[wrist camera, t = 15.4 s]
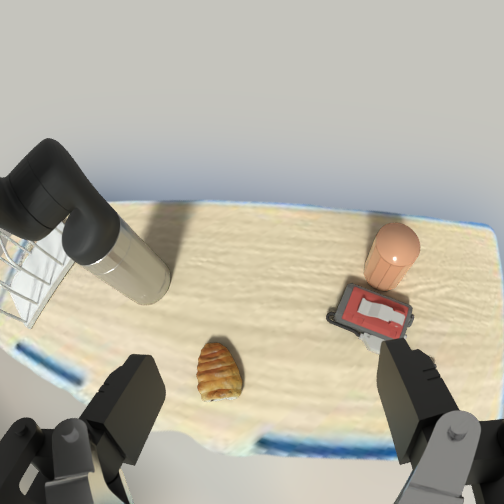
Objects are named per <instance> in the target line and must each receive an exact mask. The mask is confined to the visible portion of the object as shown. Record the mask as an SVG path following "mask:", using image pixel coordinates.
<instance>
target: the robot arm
mask: <svg viewBox="0 0 504 504" xmlns="http://www.w3.org/2000/svg"><path fill="white" fill-rule="evenodd" d="M69 214H70V215H69ZM68 215H69V217H68V219H67V221H66V223H65V226H64V229H63V233H62V246H63V249H64V251H65V253H66V254H67V256H68V257H70V258H71V259H72V260H73V261H75V262H76V263H78V264H79V265H80V266H82V267H83V268H85V269H86V270H87V271H89V272H91V273H92V274H93V275H95V276H96V277H98V278H99V279H101V280H102V281H104V282H105V283H107V284H108V285H110V286H111V287H113V288H114V289H116V290H117V291H119V292H120V293H122V294H123V295H125V296H126V297H128V298H129V299H131V300H133V301H134V302H136V303H137V304H140V305H151V304H153V303H155V302H157V301H159V300H160V299H161V298H162V297H163V296H164V295H165V293H166V292H167V290H168V287H169V284H170V271H169V269H168V267H167V265H166V264H165V263H164V262H163V261H162V260H161V259H160V258H159V257H158V256H157V255H156V254H155V253H154V252H153V251H152V250H151V249H150V248H149V247H148V246H147V244H146V243H145V242H144V241H143V240H142V239H141V238H140V237H139V236H138V235H137V234H136V233H135V232H134V231H133V230H132V229H131V228H130V226H129V225H128V224H127V223H126V222H125V221H124V220H123V219H122V218H121V217H120V216H119V215H118V214H117V212H116V211H115V210H114V209H113V208H112V207H111V206H110V205H109V204H108V203H107V202H106V200H105V199H104V198H103V197H102V196H101V195H100V194H99V193H98V191H97V190H96V189H95V188H94V187H93V186H92V184H91V183H90V182H89V180H88V179H87V177H86V176H85V175H84V173H83V172H82V170H81V169H80V168H79V166H78V165H77V163H76V162H75V161H74V159H73V158H72V157H71V155H70V154H69V153H68V151H66V149H65V148H64V147H63V146H62V145H61V144H60V143H59V142H57V141H56V140H53V139H50V138H47V139H44V140H43V141H41V142H40V143H39V144H38V145H37V146H36V147H34V148H33V150H31V151H30V152H29V153H28V155H26V156H25V157H24V159H22V160H21V162H20V163H19V164H18V165H17V166H16V167H15V168H14V169H13V170H12V171H11V173H10V174H9V175H8V176H6V177H3V178H1V177H0V228H2V229H4V230H6V231H8V232H9V233H11V234H13V235H15V236H17V237H20V238H22V239H25V240H28V241H39V240H41V239H43V238H45V237H46V236H47V235H49V234H50V233H51V232H52V231H53V230H54V229H55V228H56V227H57V226H58V225H59V224H60V223H61V222H62V221H63V220H64V219H65V218H66V217H67V216H68ZM435 368H436V367H435V366H434V364H433V362H432V360H431V359H430V357H429V356H427V355H426V354H425V353H423V352H422V351H420V350H419V349H417V350H412V351H411V349H410V347H409V345H408V343H407V342H406V340H405V339H404V338H397V339H391V340H386V341H382V343H381V346H380V355H379V363H378V370H377V388H378V392H379V395H380V399H381V402H382V405H383V408H384V411H385V415H386V418H387V421H388V424H389V428H390V431H391V435H392V438H393V442H394V445H395V449H396V452H397V456H398V460H399V464H400V465H401V464H405V463H409V462H411V465H412V469H413V470H412V472H411V474H410V476H409V478H408V480H407V481H406V483H405V485H404V487H403V489H402V490H401V492H400V494H399V496H398V497H397V499H396V501H395V502H394V504H463V502H464V497H462V491H463V488H464V486H465V485H471V486H472V489H473V493H474V496H475V501H476V504H504V419H499V420H490V421H478V420H477V418H476V417H475V416H474V415H472V414H471V413H468V412H466V411H460V410H459V408H458V406H457V405H456V403H455V401H454V399H453V397H452V395H451V393H450V392H449V390H448V388H447V386H446V385H445V383H444V381H443V379H442V378H440V374H439V372H438V371H437V369H435ZM98 391H99V392H97V393H96V394H95V396H94V397H93V399H92V400H91V402H90V403H89V404H88V406H87V407H86V409H85V410H84V412H83V413H82V415H81V416H80V417H79V419H77V418H70V419H66V420H64V421H62V422H61V423H59V424H58V425H57V426H56V427H55V429H40V428H39V426H38V425H37V424H36V422H35V421H34V420H33V419H31V418H21V419H19V420H17V421H16V422H14V423H13V424H12V426H11V427H10V428H9V430H8V431H7V433H6V434H5V435H4V437H3V438H2V439H1V441H0V504H134V502H133V499H132V497H131V494H130V491H129V488H128V486H127V483H126V480H125V477H124V474H123V472H122V470H121V468H120V467H121V465H122V463H126V464H130V465H134V466H135V464H136V462H137V460H138V457H139V455H140V453H141V451H142V449H143V447H144V444H145V442H146V440H147V438H148V435H149V433H150V431H151V429H152V427H153V425H154V422H155V420H156V418H157V416H158V414H159V411H160V409H161V407H162V405H163V403H164V400H165V396H166V390H165V385H164V383H163V380H162V378H161V376H160V373H159V371H158V368H157V366H156V363H155V361H154V358H153V357H152V356H151V355H140V354H131V355H130V356H129V357H128V359H127V360H126V361H125V363H124V364H123V366H120V367H119V368H117V369H116V370H115V371H113V372H112V373H111V374H110V375H109V376H108V378H107V379H106V380H105V382H104V385H102V386H101V387H100V389H99V390H98ZM30 463H32V464H33V466H34V467H35V468H36V469H37V470H38V471H39V472H38V474H37V476H36V477H35V479H34V481H33V483H32V485H31V486H30V488H29V490H28V492H27V494H26V495H23V494H22V492H21V491H20V488H19V482H20V480H21V478H22V477H23V475H24V473H25V472H26V470H27V468H28V467H29V465H30Z"/></svg>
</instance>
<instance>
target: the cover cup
mask: <svg viewBox="0 0 504 504" xmlns="http://www.w3.org/2000/svg"><path fill="white" fill-rule="evenodd" d="M419 253H420V242H419V239H418V237H417V235H416V234H415V232H414V231H413V230H412V229H411V228H409V227H408V226H406V225H404V224H401V223H389V224H386V225H385V226H383V227H382V228H381V229H380V230H379V232H378V234H377V235H376V237H375V240H374V242H373V245H372V248H371V250H370V253H369V255H368V258H367V260H366V263H365V267H364V275H365V278H366V280H367V283H368V284H369V285H371V286H372V287H373V288H374V289H376V290H381V291H388V290H391V289H393V288H395V287H396V286H397V285H398V283H399V282H400V281H401V279H402V278H403V277H404V275H405V274H406V273H407V271H408V270H409V269H410V267H411V266H412V264H413V263H414V262H415V260H416V259H417V257H418V255H419Z"/></svg>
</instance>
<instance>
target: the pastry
mask: <svg viewBox="0 0 504 504" xmlns="http://www.w3.org/2000/svg"><path fill="white" fill-rule="evenodd" d="M198 361H199V362H198V366H197V370H198V372H197V374H196V375H197V379H198V383H199V384H198V386H197V388H198V391H199V392H200V394H201V399H202V400H203V401H205V402H211V401H219V400H224V399H228V400H233V399H237V398H238V397H239V396H240V394H241V388H242V379H241V376H240V373H239V370H238V367H237V365H236V363H235V362H234V360H233V358H232V356H231V354H230V352H229V351H228V349H227V348H226V347H225V346H223V345H222V344H220V343H207V344H206V345H205V346H204V347H203V349H202V350H201V354H200V356H199V358H198Z"/></svg>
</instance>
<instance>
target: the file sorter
mask: <svg viewBox="0 0 504 504" xmlns="http://www.w3.org/2000/svg"><path fill="white" fill-rule="evenodd" d="M64 226H65V224H64V223H63V222H61V223H60V224H59V225H58V226H57V227H56V228H55V229H54V230H53V231H52V232H51V233H50V234H49V235H47V236H46V237H45V238H43V239H41V240H39V241H38V242H37V243H34V242H33V241H29V242H30V243H31V244H32V245H34V247H33V249H32V250H31V252H29V251H28V250H26V249H25V248H23V247H22V246H20V245H19V244H18V243H16V242H15V241H13V240H12V239H11V238H9V237H8V236H7V235H5V234H3V233H2V232H1V231H0V234H1V235H3V236H4V237H5V238H7V239H8V240H9V241H11V242H12V243H14V244H15V245H17V246H18V247H19V248H21V249H22V250H24V251H25V252H27V253H28V254H29V255H28V256H27V258H26V259H25V261H24V262H23V264H22V266H19V265H18V264H16V263H15V262H14V261H13V260H12V259H11V258H10V257H9V255H8V253H7V251H6V249H5V246H4V244H3V242H2V239H1V237H0V243H1V246H2V248H3V251H4V253H5V255H6V257H7V259H8V260H9V261H10V262H11V263H12V264H13V265H12V264H11V263H9V262H8V261H6V260H5V259H3V258H2V257H0V260H2V261H3V262H5V263H7V264H8V265H10V266H11V267H13V268H15V269H16V270H18V272H17V274H16V275H15V277H14V278H13V280H12V282H11V284H10V285H8V284H6V283H4V282H2V281H0V286H1V287H2V288H4V289H6V290H7V291H9V292H10V294H11V297H12V299H13V301H14V304H15V306H16V308H17V310H18V312H19V314H20V316H21V318H22V319H21V318H19V317H16V316H14V315H12V314H9V313H7V312H5V311H3V310H1V309H0V313H3V314H5V315H7V316H9V317H12V318H14V319H16V320H19V321H21V322H23V323H24V325H25V327H26V328H29V329H31V328H32V326H33V325H34V323H35V321H36V320H37V318H38V316H39V315H40V313H41V311H42V310H43V308H44V306H45V305H46V303H47V302H48V300H49V299H50V297H51V296H52V294H53V292H54V291H55V289H56V288H57V286H58V285H59V283H60V282H61V281H62V279H63V278H64V276H65V275H66V273H67V272H68V270H69V269H70V268H71V266H72V265H73V263H74V262H75V261H73V260H72V259H71V258H70V257H68V256H67V254H66V253H65V251H64V249H63V246H62V233H63V229H64ZM27 241H28V240H27ZM4 285H5V286H4ZM6 286H7V287H6Z"/></svg>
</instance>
